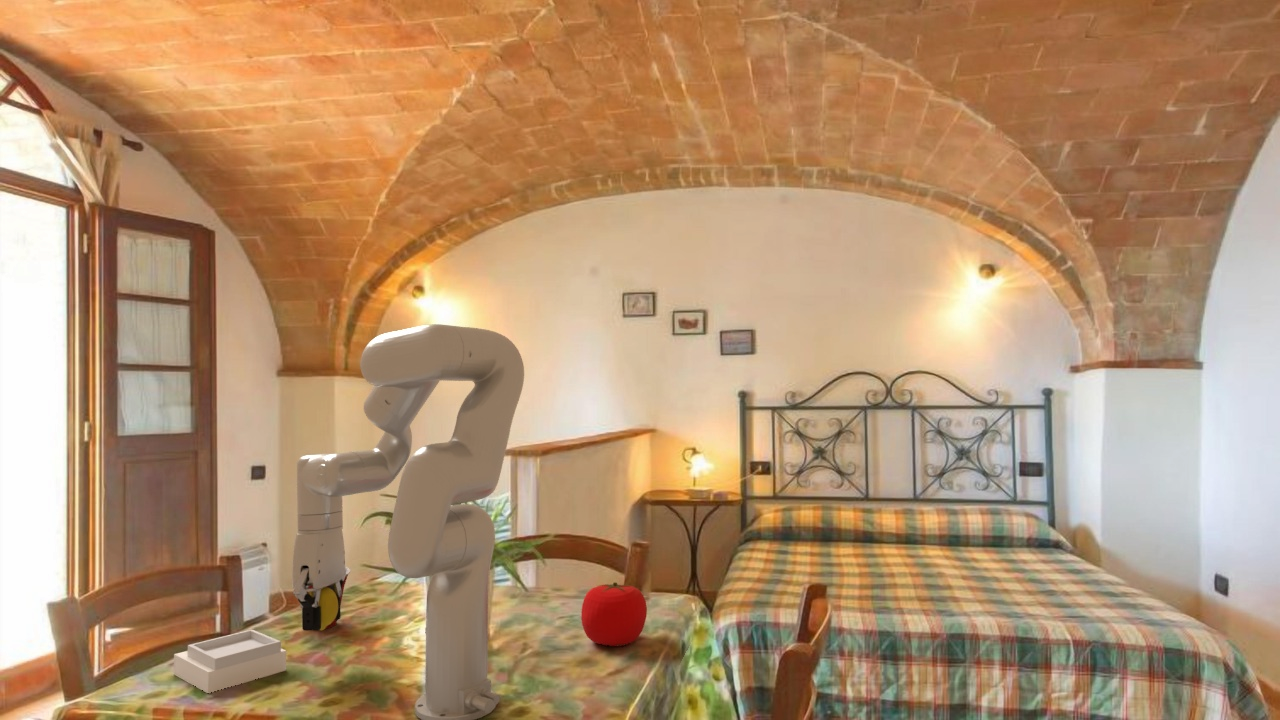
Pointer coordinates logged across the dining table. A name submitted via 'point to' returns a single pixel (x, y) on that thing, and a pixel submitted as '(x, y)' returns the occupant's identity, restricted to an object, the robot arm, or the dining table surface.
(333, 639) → the dining table surface
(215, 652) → the scale
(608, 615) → the tomato
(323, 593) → the lemon
